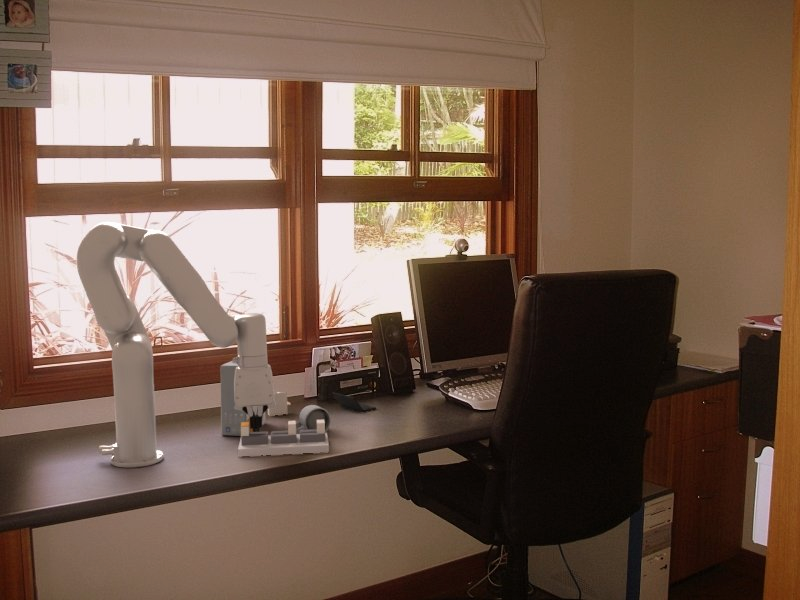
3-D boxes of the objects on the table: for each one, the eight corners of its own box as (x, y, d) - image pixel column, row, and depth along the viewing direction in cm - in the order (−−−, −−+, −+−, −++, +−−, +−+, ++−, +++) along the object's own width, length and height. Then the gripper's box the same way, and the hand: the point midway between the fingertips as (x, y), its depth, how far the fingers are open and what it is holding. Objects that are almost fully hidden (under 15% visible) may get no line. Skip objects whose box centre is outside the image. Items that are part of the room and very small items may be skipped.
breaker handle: (241, 436, 210) (240, 425, 210) (241, 432, 214) (241, 422, 213) (248, 436, 210) (248, 425, 210) (249, 432, 214) (249, 421, 213)
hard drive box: (246, 437, 224) (244, 366, 222) (220, 436, 226) (218, 365, 224) (266, 423, 240) (264, 356, 238) (242, 422, 241) (240, 355, 239)
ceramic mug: (322, 426, 235) (321, 400, 234) (331, 433, 228) (330, 406, 227) (287, 431, 231) (285, 405, 230) (295, 438, 223) (293, 411, 223)
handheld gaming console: (380, 403, 257) (364, 382, 252) (370, 421, 252) (354, 399, 247) (353, 403, 264) (337, 382, 259) (343, 420, 259) (326, 399, 255)
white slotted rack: (238, 457, 206) (237, 430, 205) (241, 443, 218) (240, 419, 217) (328, 452, 209) (328, 426, 208) (327, 439, 221) (326, 415, 220)
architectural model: (266, 415, 251) (265, 391, 250) (287, 413, 254) (287, 389, 253) (269, 418, 248) (269, 394, 247) (291, 415, 251) (290, 391, 250)
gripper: (222, 365, 206) (226, 436, 208) (281, 362, 207) (285, 432, 209) (224, 360, 213) (228, 428, 215) (282, 357, 215) (285, 424, 217)
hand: (256, 430), depth 212 cm, fingers closed
